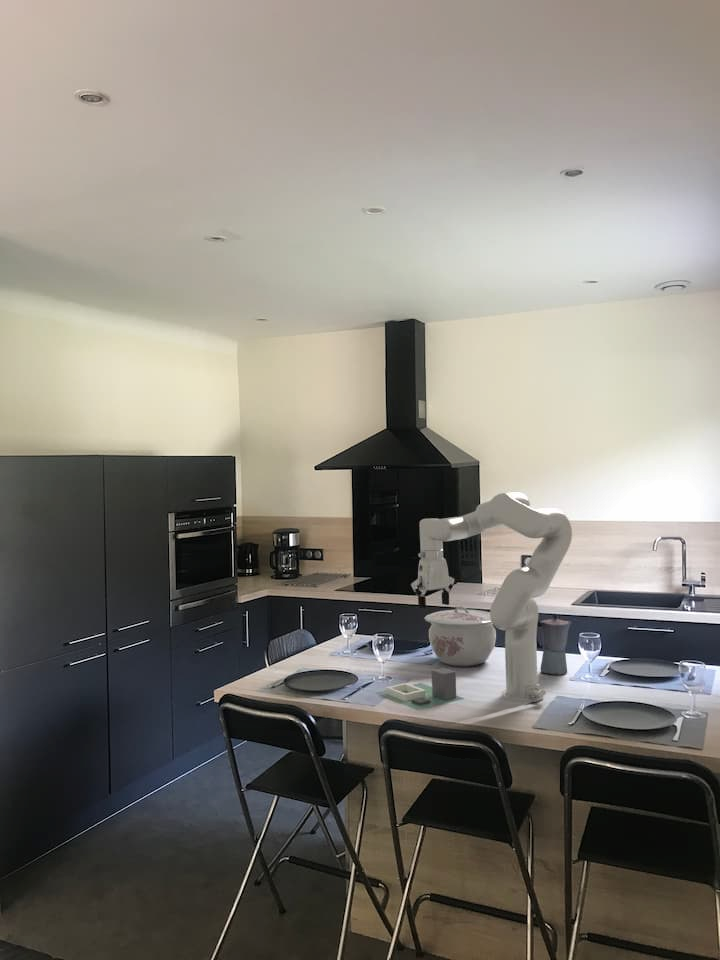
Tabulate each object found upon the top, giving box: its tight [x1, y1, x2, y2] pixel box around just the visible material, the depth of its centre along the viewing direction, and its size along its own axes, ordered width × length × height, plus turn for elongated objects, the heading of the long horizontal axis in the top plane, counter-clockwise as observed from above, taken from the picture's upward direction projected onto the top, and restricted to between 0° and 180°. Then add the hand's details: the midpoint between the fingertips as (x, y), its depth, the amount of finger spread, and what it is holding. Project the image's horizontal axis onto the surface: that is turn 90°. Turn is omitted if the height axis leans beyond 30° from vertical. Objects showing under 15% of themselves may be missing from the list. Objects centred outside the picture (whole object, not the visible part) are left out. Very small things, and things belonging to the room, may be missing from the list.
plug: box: [431, 667, 457, 701], centre depth 231 cm, size 7×4×8 cm, turn 33°
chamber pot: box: [424, 605, 497, 668], centre depth 278 cm, size 28×28×21 cm
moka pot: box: [536, 613, 572, 675], centre depth 260 cm, size 10×15×20 cm, turn 112°
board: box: [375, 682, 466, 711], centre depth 233 cm, size 22×18×3 cm
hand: (434, 606), depth 254 cm, fingers open, 9 cm apart
